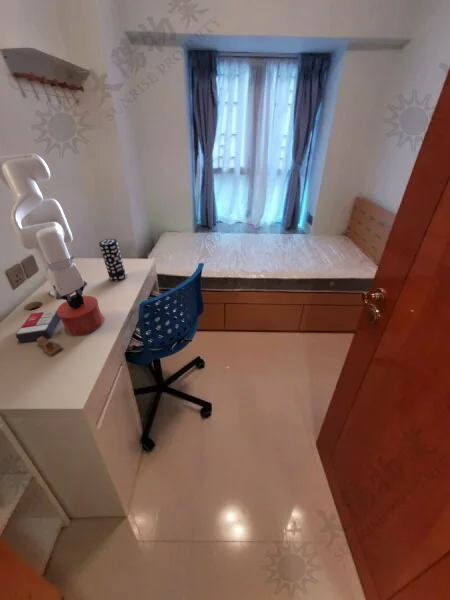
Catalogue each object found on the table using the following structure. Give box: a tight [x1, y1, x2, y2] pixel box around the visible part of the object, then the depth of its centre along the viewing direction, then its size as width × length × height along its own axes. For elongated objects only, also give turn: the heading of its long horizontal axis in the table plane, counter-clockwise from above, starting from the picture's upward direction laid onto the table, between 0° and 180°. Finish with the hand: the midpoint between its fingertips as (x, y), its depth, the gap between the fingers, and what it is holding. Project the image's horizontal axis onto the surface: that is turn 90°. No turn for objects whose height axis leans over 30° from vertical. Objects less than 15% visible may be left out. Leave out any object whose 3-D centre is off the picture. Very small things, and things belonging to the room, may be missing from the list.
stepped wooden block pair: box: [35, 336, 62, 357], centre depth 103 cm, size 10×4×3 cm, turn 57°
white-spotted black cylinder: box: [98, 238, 127, 282], centre depth 143 cm, size 8×8×20 cm
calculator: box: [15, 309, 61, 343], centre depth 113 cm, size 11×4×15 cm
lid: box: [56, 294, 99, 319], centre depth 110 cm, size 15×15×6 cm
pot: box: [59, 304, 104, 336], centre depth 113 cm, size 14×14×8 cm
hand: (77, 305), depth 110 cm, fingers closed on lid, 2 cm apart
